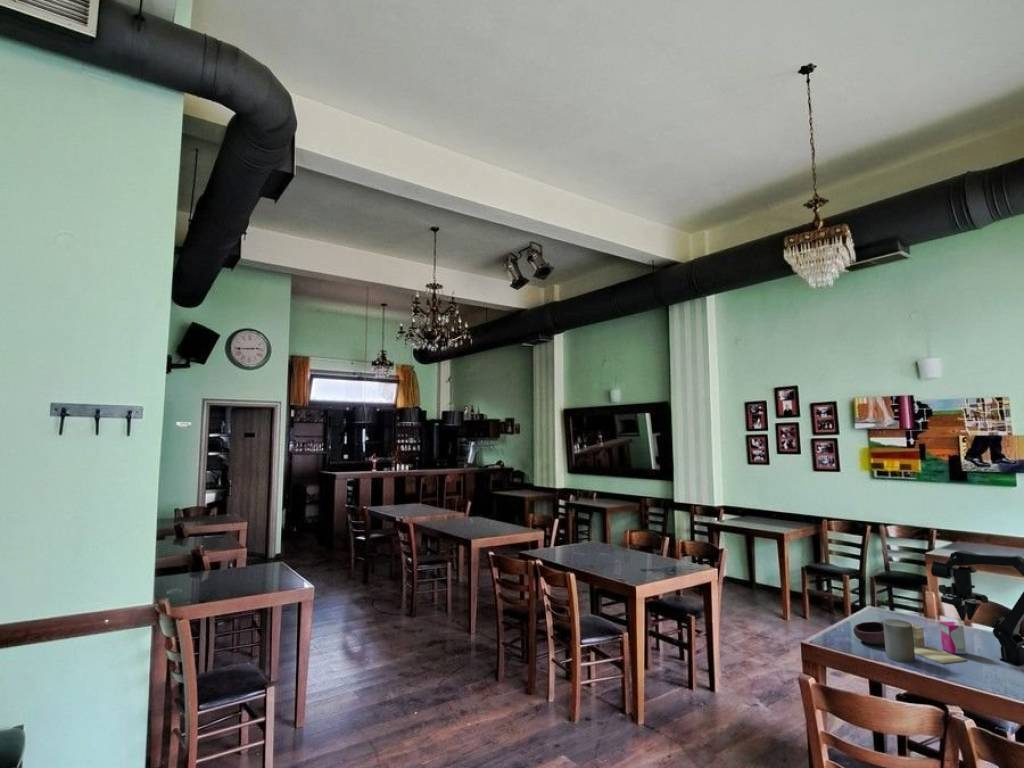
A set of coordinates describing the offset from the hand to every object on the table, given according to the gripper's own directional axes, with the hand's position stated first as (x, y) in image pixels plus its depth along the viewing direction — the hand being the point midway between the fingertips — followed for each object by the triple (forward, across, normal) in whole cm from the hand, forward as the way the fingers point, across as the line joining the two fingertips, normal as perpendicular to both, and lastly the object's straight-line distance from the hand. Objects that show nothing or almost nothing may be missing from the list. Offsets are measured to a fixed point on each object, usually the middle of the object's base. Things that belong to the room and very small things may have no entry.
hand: (966, 620), depth 228 cm
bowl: (+12, +30, -18) cm, 37 cm away
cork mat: (+12, +18, 0) cm, 22 cm away
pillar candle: (+12, +35, -1) cm, 37 cm away
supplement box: (+12, +8, 0) cm, 15 cm away
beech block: (+12, +16, -10) cm, 22 cm away
